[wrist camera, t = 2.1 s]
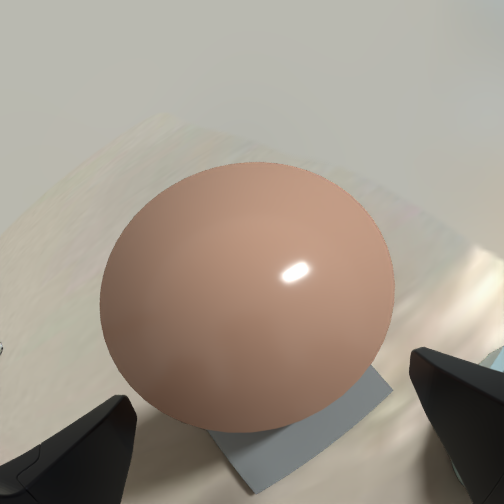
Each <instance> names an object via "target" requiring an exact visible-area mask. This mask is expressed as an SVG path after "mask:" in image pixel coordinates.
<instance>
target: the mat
mask: <svg viewBox="0 0 504 504" xmlns="http://www.w3.org/2000/svg"><path fill="white" fill-rule="evenodd" d="M392 391H393V389H392V388H391V387H390V386H389V385H388V384H387V382H386V381H385V380H384V379H383V378H382V377H381V376H380V375H379V373H378V372H377V371H376V370H375V369H374V368H373V367H372V365H371V364H370V366H369V367H368V369H367V370H366V371H365V372H364V374H363V375H362V376H361V378H360V379H359V380H358V381H357V382H356V383H355V384H354V385H353V386H352V387H351V388H350V389H349V390H348V391H347V392H346V393H345V394H344V395H343V396H341V397H340V398H338V399H337V400H336V401H334V402H333V403H331V404H330V405H329V406H327V407H326V408H324V409H323V410H321V411H319V412H317V413H315V414H313V415H311V416H309V417H307V418H305V419H303V420H301V421H299V422H296V423H293V424H290V425H286V426H283V427H280V428H276V429H271V430H265V431H258V432H247V433H227V432H220V431H213V430H207V431H208V432H209V434H210V435H211V437H212V438H213V439H214V441H215V442H216V444H217V445H218V446H219V448H220V449H221V451H222V452H223V453H224V455H225V456H226V457H227V459H228V460H229V461H230V463H231V464H232V465H233V466H234V468H235V469H236V470H237V472H238V473H239V474H240V475H241V477H242V478H243V479H244V480H245V482H246V483H247V484H248V485H249V487H250V488H251V489H252V490H253V491H254V493H255V494H258V493H259V492H261V491H263V490H265V489H266V488H268V487H270V486H271V485H273V484H274V483H276V482H278V481H279V480H281V479H282V478H284V477H285V476H287V475H289V474H290V473H292V472H293V471H295V470H296V469H298V468H299V467H300V466H302V465H303V464H305V463H306V462H308V461H309V460H311V459H312V458H313V457H315V456H316V455H317V454H319V453H320V452H322V451H323V450H324V449H326V448H327V447H328V446H329V445H331V444H332V443H333V442H335V441H336V440H337V439H338V438H340V437H341V436H342V435H343V434H345V433H346V432H347V431H348V430H350V429H351V428H352V427H353V426H354V425H356V424H357V423H358V422H359V421H360V420H361V419H363V418H364V417H365V416H366V415H367V414H368V413H369V412H371V411H372V410H373V409H374V408H375V407H376V406H377V405H378V404H379V403H381V402H382V401H383V400H384V399H385V398H386V397H387V396H388V395H389V394H390V393H391V392H392Z"/></svg>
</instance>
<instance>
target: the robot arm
mask: <svg viewBox="0 0 504 504" xmlns="http://www.w3.org/2000/svg"><path fill="white" fill-rule="evenodd" d="M409 375H410V379H411V381H412V383H413V386H414V388H415V390H416V392H417V395H418V397H419V400H420V402H421V404H422V407H423V409H424V411H425V413H426V415H427V417H428V419H429V421H430V423H431V424H432V426H433V428H434V430H435V431H436V433H437V435H438V437H439V439H440V440H441V442H442V444H443V446H444V448H445V450H446V451H447V453H448V455H449V457H450V459H451V461H452V463H453V464H454V466H455V468H456V470H457V472H458V474H459V476H460V478H461V480H462V482H463V484H464V486H465V488H466V490H467V492H468V494H469V496H470V498H471V500H472V502H473V504H504V372H500V371H497V370H494V369H491V368H487V367H484V366H481V365H478V364H475V363H472V362H468V361H465V360H462V359H459V358H456V357H453V356H450V355H447V354H444V353H441V352H438V351H435V350H432V349H429V348H426V347H421V348H417V349H414V350H413V351H412V352H411V356H410V367H409ZM136 423H137V415H136V412H135V410H134V408H133V406H132V404H131V402H130V400H129V398H128V397H127V396H126V395H114V396H113V397H111V398H110V399H108V400H107V401H105V402H104V403H102V404H101V405H99V406H98V407H96V408H95V409H93V410H92V411H90V412H89V413H87V414H86V415H84V416H83V417H81V418H80V419H78V420H77V421H75V422H73V423H72V424H70V425H69V426H67V427H66V428H64V429H63V430H61V431H60V432H58V433H56V434H55V435H53V436H52V437H50V438H49V439H47V440H45V441H44V442H42V443H41V445H40V444H39V445H37V446H36V447H34V448H33V449H31V450H29V451H28V452H26V453H24V454H23V455H21V456H19V457H17V458H15V459H13V460H11V461H9V462H7V463H5V464H3V465H1V466H0V504H120V503H121V499H122V495H123V490H124V486H125V482H126V478H127V474H128V470H129V466H130V462H131V457H132V452H133V444H134V437H135V430H136Z"/></svg>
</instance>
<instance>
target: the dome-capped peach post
mask: <svg viewBox="0 0 504 504" xmlns="http://www.w3.org/2000/svg"><path fill="white" fill-rule="evenodd" d="M394 291H395V281H394V273H393V265H392V261H391V258H390V254H389V251H388V247H387V245H386V243H385V240H384V238H383V236H382V234H381V232H380V230H379V228H378V227H377V225H376V224H375V222H374V220H373V219H372V217H371V216H370V215H369V214H368V212H367V211H366V210H365V209H364V208H363V206H362V205H361V204H360V203H359V202H358V201H356V200H355V199H354V198H353V197H352V196H351V195H350V194H349V193H347V192H346V191H345V190H343V189H342V188H340V187H339V186H338V185H336V184H334V183H333V182H331V181H329V180H327V179H325V178H324V177H322V176H319V175H317V174H314V173H312V172H309V171H307V170H303V169H300V168H297V167H293V166H288V165H283V164H277V163H264V162H249V163H237V164H229V165H225V166H220V167H215V168H212V169H209V170H205V171H202V172H199V173H197V174H194V175H192V176H190V177H187V178H185V179H183V180H181V181H179V182H178V183H176V184H174V185H172V186H170V187H169V188H167V189H166V190H164V191H163V192H161V193H160V194H158V195H157V196H156V197H155V198H153V199H152V200H151V201H150V202H149V203H147V204H146V205H145V206H144V207H143V208H142V209H141V210H140V211H139V212H138V213H137V214H136V215H135V216H134V218H133V219H132V220H131V221H130V223H129V224H128V225H127V226H126V228H125V229H124V231H123V232H122V234H121V235H120V237H119V238H118V240H117V242H116V244H115V246H114V248H113V250H112V252H111V254H110V256H109V259H108V262H107V265H106V268H105V271H104V275H103V280H102V284H101V292H100V318H101V325H102V330H103V335H104V339H105V342H106V345H107V347H108V350H109V353H110V355H111V357H112V359H113V361H114V363H115V365H116V366H117V368H118V370H119V372H120V373H121V374H122V376H123V377H124V378H125V380H126V381H127V382H128V383H129V385H130V386H131V387H132V388H133V389H134V390H135V391H136V392H137V393H138V394H139V395H140V396H141V397H142V398H143V399H144V400H145V401H147V402H148V403H150V404H151V405H152V406H154V407H155V408H157V409H158V410H160V411H161V412H163V413H164V414H166V415H168V416H170V417H172V418H174V419H177V420H179V421H181V422H183V423H186V424H189V425H192V426H196V427H199V428H202V429H207V430H213V431H220V432H227V433H247V432H258V431H265V430H271V429H276V428H280V427H283V426H286V425H290V424H293V423H296V422H299V421H301V420H303V419H305V418H307V417H309V416H311V415H313V414H315V413H317V412H319V411H321V410H323V409H324V408H326V407H327V406H329V405H330V404H331V403H333V402H334V401H336V400H337V399H338V398H340V397H341V396H343V395H344V394H345V393H346V392H347V391H348V390H349V389H350V388H351V387H352V386H353V385H354V384H355V383H356V382H357V381H358V380H359V379H360V378H361V376H362V375H363V374H364V372H365V371H366V370H367V369H368V367H369V366H370V364H371V363H372V362H373V360H374V358H375V357H376V355H377V353H378V351H379V349H380V347H381V345H382V344H383V342H384V339H385V336H386V333H387V330H388V328H389V325H390V322H391V317H392V311H393V306H394Z"/></svg>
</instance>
